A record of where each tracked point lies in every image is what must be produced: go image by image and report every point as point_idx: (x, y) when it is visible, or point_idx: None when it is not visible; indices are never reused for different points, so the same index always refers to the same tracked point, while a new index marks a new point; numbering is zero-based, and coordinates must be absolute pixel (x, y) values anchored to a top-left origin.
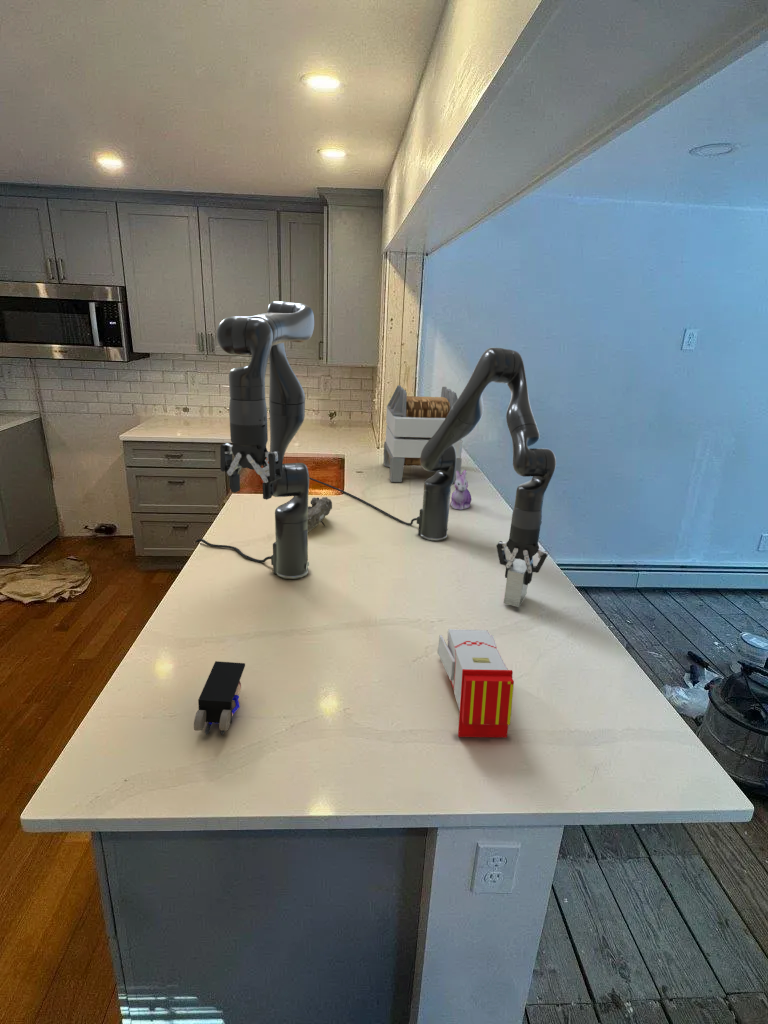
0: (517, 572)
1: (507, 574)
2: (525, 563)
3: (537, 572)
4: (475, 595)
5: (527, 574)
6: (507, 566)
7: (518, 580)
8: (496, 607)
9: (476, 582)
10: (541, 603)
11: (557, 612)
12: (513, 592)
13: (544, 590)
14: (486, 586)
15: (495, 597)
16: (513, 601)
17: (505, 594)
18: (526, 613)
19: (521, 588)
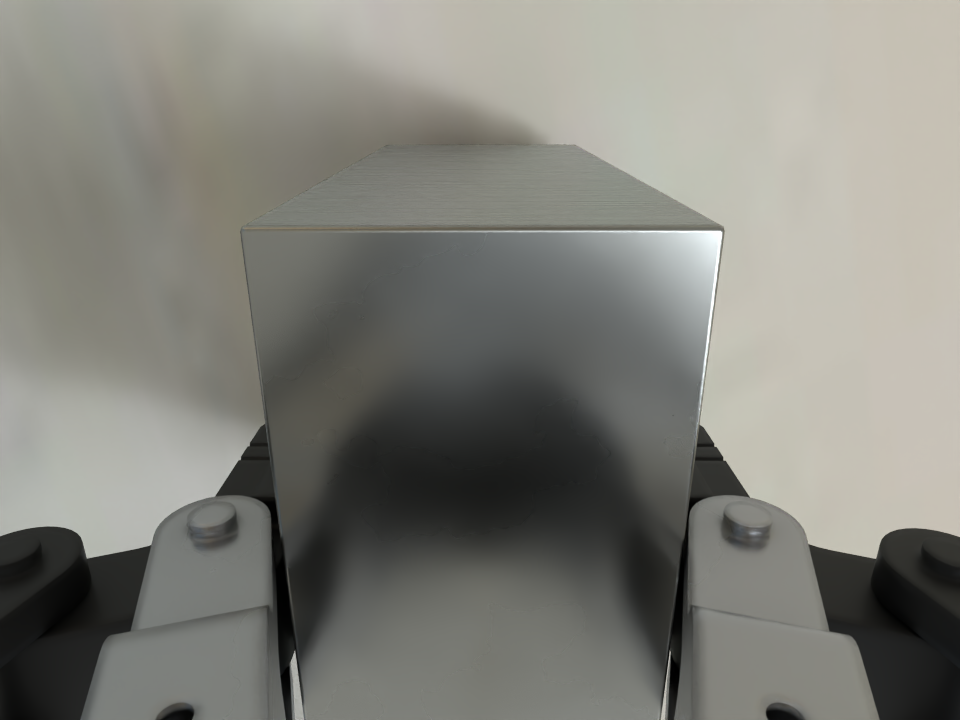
0: (437, 244)
1: (685, 209)
2: (265, 636)
3: (14, 533)
4: (904, 250)
5: None
6: (758, 511)
7: (399, 195)
8: (638, 93)
9: (915, 516)
10: (240, 425)
11: (42, 328)
12: (474, 161)
13: None
14: (809, 488)
15: None
16: (460, 150)
17: (585, 154)
18: (300, 135)
19: (342, 175)
